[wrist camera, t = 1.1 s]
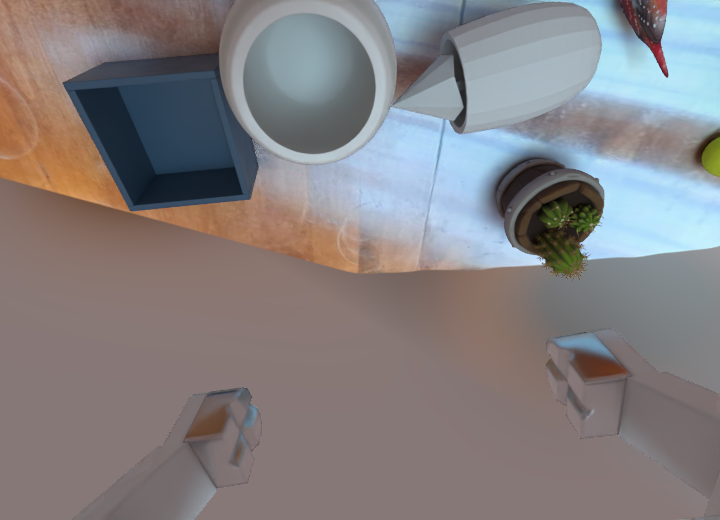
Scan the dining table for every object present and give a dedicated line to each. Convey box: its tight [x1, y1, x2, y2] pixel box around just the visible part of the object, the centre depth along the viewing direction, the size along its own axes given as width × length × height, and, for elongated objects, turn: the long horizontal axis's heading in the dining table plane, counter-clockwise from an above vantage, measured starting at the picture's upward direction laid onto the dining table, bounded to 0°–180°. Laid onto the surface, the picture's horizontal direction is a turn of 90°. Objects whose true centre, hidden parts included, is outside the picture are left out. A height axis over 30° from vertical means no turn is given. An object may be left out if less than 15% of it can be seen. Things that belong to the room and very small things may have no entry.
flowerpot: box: [496, 159, 604, 280], centre depth 56 cm, size 14×15×20 cm
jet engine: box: [391, 2, 602, 134], centre depth 42 cm, size 15×20×18 cm
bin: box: [63, 53, 258, 211], centre depth 47 cm, size 16×16×10 cm
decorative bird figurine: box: [619, 0, 668, 78], centre depth 44 cm, size 3×18×10 cm, turn 38°
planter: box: [219, 0, 397, 165], centre depth 38 cm, size 16×16×22 cm
